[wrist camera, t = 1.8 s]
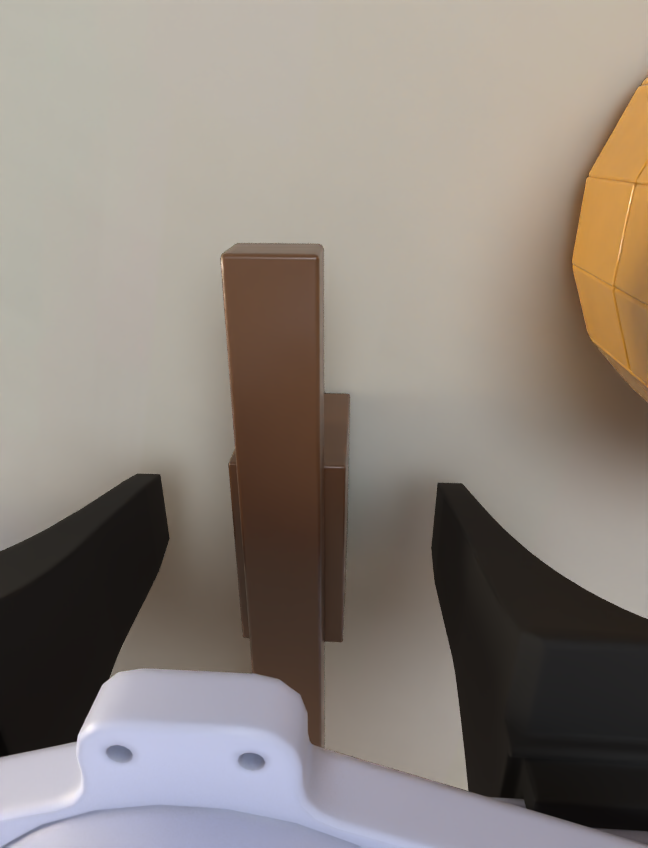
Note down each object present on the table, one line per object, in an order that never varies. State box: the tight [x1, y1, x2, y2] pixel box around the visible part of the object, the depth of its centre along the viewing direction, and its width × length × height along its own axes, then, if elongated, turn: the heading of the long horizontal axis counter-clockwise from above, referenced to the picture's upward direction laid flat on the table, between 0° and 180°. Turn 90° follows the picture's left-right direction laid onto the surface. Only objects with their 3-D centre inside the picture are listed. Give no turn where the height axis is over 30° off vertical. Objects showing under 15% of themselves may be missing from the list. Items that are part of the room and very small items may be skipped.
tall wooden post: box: [220, 243, 350, 748], centre depth 15 cm, size 14×2×5 cm, turn 0°
